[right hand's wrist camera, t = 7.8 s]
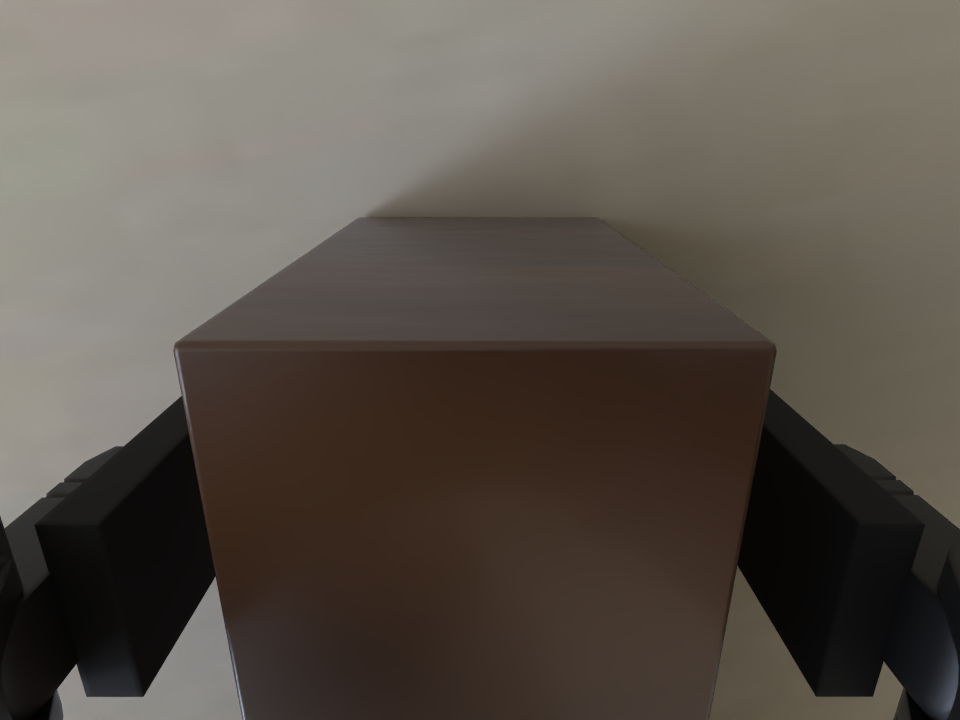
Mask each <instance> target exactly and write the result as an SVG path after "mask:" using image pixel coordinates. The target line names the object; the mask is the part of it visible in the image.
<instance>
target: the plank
mask: <svg viewBox="0 0 960 720" xmlns="http://www.w3.org/2000/svg"><path fill="white" fill-rule="evenodd" d="M174 356H175V361H176V367H177V372H178V377H179V383H180V388H181V393H182V399H183V404H184V409H185V415H186V420H187V425H188V431H189V436H190V441H191V447H192V452H193V457H194V463H195V468H196V473H197V479H198V484H199V489H200V495H201V500H202V505H203V511H204V516H205V521H206V527H207V532H208V537H209V543H210V548H211V553H212V559H213V564H214V569H215V575H216V580H217V585H218V591H219V596H220V601H221V607H222V612H223V617H224V623H225V628H226V633H227V639H228V644H229V649H230V655H231V660H232V665H233V671H234V676H235V681H236V687H237V692H238V697H239V703H240V708H241V713H242V719H243V720H709V716H710V711H711V705H712V700H713V694H714V689H715V684H716V678H717V673H718V667H719V662H720V656H721V651H722V645H723V640H724V635H725V629H726V624H727V618H728V613H729V607H730V602H731V596H732V591H733V586H734V580H735V575H736V569H737V564H738V558H739V553H740V547H741V542H742V537H743V531H744V526H745V520H746V515H747V509H748V504H749V498H750V493H751V488H752V482H753V477H754V471H755V466H756V460H757V455H758V449H759V444H760V439H761V433H762V428H763V422H764V417H765V411H766V406H767V400H768V395H769V390H770V384H771V379H772V373H773V368H774V362H775V357H776V346H775V343H773V342H772V341H770V340H769V339H768V338H766V337H765V336H763V335H762V334H761V333H759V332H758V331H756V330H755V329H754V328H752V327H751V326H749V325H748V324H746V323H745V322H744V321H742V320H741V319H739V318H738V317H737V316H735V315H734V314H732V313H731V312H730V311H728V310H727V309H725V308H724V307H723V306H721V305H720V304H718V303H717V302H715V301H714V300H713V299H711V298H710V297H708V296H707V295H706V294H704V293H703V292H701V291H700V290H699V289H697V288H696V287H694V286H693V285H692V284H690V283H689V282H687V281H686V280H684V279H683V278H682V277H680V276H679V275H677V274H676V273H675V272H673V271H672V270H670V269H669V268H668V267H666V266H665V265H663V264H662V263H661V262H659V261H658V260H656V259H655V258H653V257H652V256H651V255H649V254H648V253H646V252H645V251H644V250H642V249H641V248H639V247H638V246H637V245H635V244H634V243H632V242H631V241H630V240H628V239H627V238H625V237H624V236H622V235H621V234H620V233H618V232H617V231H615V230H614V229H613V228H611V227H610V226H608V225H607V224H606V223H604V222H603V221H601V220H600V219H598V218H358V219H356V220H355V221H353V222H352V223H350V224H349V225H347V226H346V227H344V228H343V229H341V230H340V231H339V232H337V233H336V234H334V235H333V236H331V237H330V238H328V239H327V240H325V241H324V242H322V243H321V244H319V245H318V246H317V247H315V248H314V249H312V250H311V251H309V252H308V253H306V254H305V255H303V256H302V257H300V258H299V259H297V260H296V261H295V262H293V263H292V264H290V265H289V266H287V267H286V268H284V269H283V270H281V271H280V272H278V273H277V274H276V275H274V276H273V277H271V278H270V279H268V280H267V281H265V282H264V283H262V284H261V285H259V286H258V287H256V288H255V289H254V290H252V291H251V292H249V293H248V294H246V295H245V296H243V297H242V298H240V299H239V300H237V301H236V302H234V303H233V304H232V305H230V306H229V307H227V308H226V309H224V310H223V311H221V312H220V313H218V314H217V315H215V316H214V317H212V318H211V319H210V320H208V321H207V322H205V323H204V324H202V325H201V326H199V327H198V328H196V329H195V330H193V331H192V332H190V333H189V334H188V335H186V336H185V337H183V338H182V339H180V340H179V341H177V342H176V343H175V345H174Z"/></svg>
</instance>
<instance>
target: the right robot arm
mask: <svg viewBox="0 0 960 720" xmlns="http://www.w3.org/2000/svg"><path fill="white" fill-rule="evenodd" d="M64 480H65V481H64V483H59V484H58V485H57V486H56V487H54V488H53V489H52V490H51V491H49V492H48V493H47V496H46V498H41V499H40V500H39V501H37V502H36V503H35V504H34V505H33V506H31V507H30V508H29V509H28V510H27V511H25V512H24V513H23V514H22V515H20V516H19V517H18V518H17V519H16V520H14V521H13V522H12V523H11V524H10V525H8V526H7V527H6V528H5V529H4V526H3V523H2V520H1V517H0V720H63V711H62V704H61V701H60V698H59V695H58V691H57V688H58V687H59V686H60V684H61V683H62V682H63V681H64V679H65V678H66V677H67V675H68V674H69V673H70V671H71V670H72V669H73V667H74V666H75V665H76V664H77V667H78V670H79V673H80V676H81V680H82V683H83V686H84V689H85V693H86V696H87V697H143V696H144V695H145V693H146V691H147V690H148V688H149V686H150V685H151V683H152V681H153V680H154V678H155V676H156V675H157V673H158V671H159V670H160V668H161V666H162V665H163V663H164V661H165V660H166V658H167V656H168V655H169V653H170V651H171V650H172V648H173V646H174V645H175V643H176V641H177V640H178V638H179V636H180V635H181V633H182V631H183V630H184V628H185V626H186V625H187V623H188V621H189V620H190V618H191V616H192V615H193V613H194V611H195V610H196V608H197V606H198V605H199V603H200V601H201V600H202V598H203V596H204V595H205V593H206V591H207V590H208V588H209V586H210V585H211V583H212V581H213V580H214V578H215V576H216V575H215V569H214V564H213V559H212V553H211V548H210V543H209V537H208V532H207V527H206V521H205V516H204V511H203V505H202V500H201V495H200V489H199V484H198V479H197V473H196V468H195V463H194V457H193V452H192V447H191V441H190V436H189V431H188V425H187V420H186V415H185V409H184V404H183V399H182V396H181V397H180V398H179V399H178V400H177V401H175V402H174V403H173V404H172V405H171V406H170V407H169V408H167V409H166V410H165V411H164V412H163V413H162V414H160V415H159V416H158V417H157V418H156V419H155V420H154V421H152V422H151V423H150V424H149V425H148V426H147V427H146V428H144V429H143V430H142V431H141V432H140V433H139V434H138V435H136V436H135V437H134V438H133V439H132V440H131V441H130V442H128V443H127V444H126V445H125V446H124V447H114V448H112V449H110V450H108V451H106V452H104V453H102V454H100V455H98V456H96V457H94V458H92V459H90V460H88V461H86V462H85V463H83V464H82V465H81V466H80V467H78V468H77V469H76V470H75V471H74V472H72V473H71V474H70V475H69V476H68V477H66V478H65V479H64ZM913 492H914V491H912V490H911V489H910V488H909V487H908V486H906V485H905V484H904V483H903V482H901V481H900V480H896V477H895V476H894V475H893V474H892V473H890V472H889V471H888V470H887V469H886V468H884V467H883V466H882V465H881V464H880V463H878V462H877V461H876V460H875V459H873V458H871V457H869V456H867V455H865V454H863V453H861V452H859V451H857V450H855V449H853V448H851V447H849V446H847V445H845V444H832V443H831V442H830V441H829V440H828V439H827V438H825V437H824V436H823V435H822V434H821V433H820V432H819V431H817V430H816V429H815V428H814V427H813V426H812V425H811V424H809V423H808V422H807V421H806V420H805V419H804V418H803V417H801V416H800V415H799V414H798V413H797V412H796V411H795V410H793V409H792V408H791V407H790V406H789V405H788V404H787V403H785V402H784V401H783V400H782V399H781V398H780V397H779V396H777V395H776V394H775V393H774V392H773V391H772V390H771V389H770V390H769V395H768V400H767V406H766V411H765V417H764V422H763V428H762V433H761V439H760V444H759V449H758V455H757V460H756V466H755V471H754V477H753V482H752V488H751V493H750V498H749V504H748V509H747V515H746V520H745V526H744V531H743V537H742V542H741V547H740V553H739V558H738V564H737V565H738V567H739V569H740V570H741V572H742V574H743V575H744V577H745V579H746V580H747V582H748V584H749V585H750V587H751V589H752V590H753V592H754V594H755V595H756V597H757V599H758V600H759V602H760V604H761V605H762V607H763V609H764V610H765V612H766V614H767V615H768V617H769V619H770V620H771V622H772V624H773V625H774V627H775V629H776V630H777V632H778V634H779V635H780V637H781V639H782V640H783V642H784V644H785V645H786V647H787V649H788V650H789V652H790V654H791V655H792V657H793V659H794V660H795V662H796V664H797V665H798V667H799V669H800V670H801V672H802V674H803V675H804V677H805V679H806V680H807V682H808V684H809V686H810V687H811V689H812V691H813V692H814V694H815V696H816V697H873V694H874V691H875V688H876V684H877V681H878V678H879V674H880V671H881V668H882V665H883V661H884V662H885V663H886V665H887V666H888V667H889V669H890V670H891V671H892V672H893V674H894V675H895V676H896V678H897V679H898V680H899V682H900V683H901V684H902V686H903V687H904V688H903V691H902V695H901V698H900V701H899V704H898V707H897V710H896V713H895V716H894V719H893V720H960V529H959V528H957V527H956V526H955V525H954V524H953V523H951V522H950V521H949V520H948V519H946V518H945V517H944V516H943V515H942V514H940V513H939V512H938V511H937V510H936V509H934V508H933V507H932V506H931V505H929V504H928V503H927V502H926V501H925V500H923V499H922V498H921V497H920V496H918V495H914V493H913Z"/></svg>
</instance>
